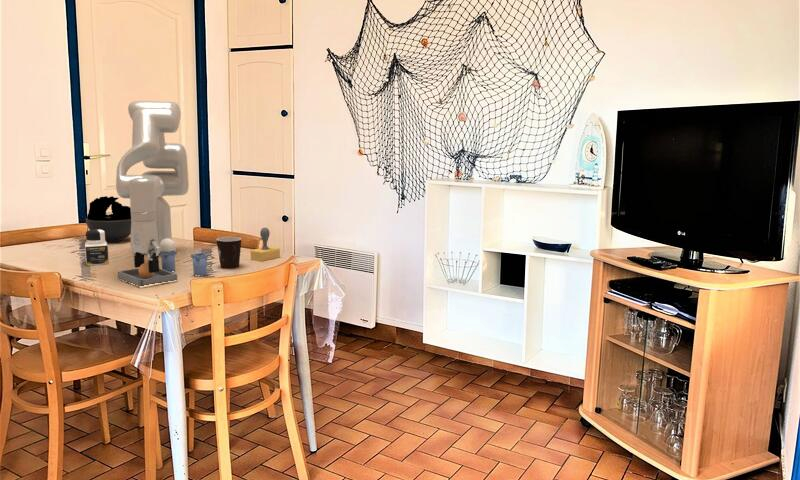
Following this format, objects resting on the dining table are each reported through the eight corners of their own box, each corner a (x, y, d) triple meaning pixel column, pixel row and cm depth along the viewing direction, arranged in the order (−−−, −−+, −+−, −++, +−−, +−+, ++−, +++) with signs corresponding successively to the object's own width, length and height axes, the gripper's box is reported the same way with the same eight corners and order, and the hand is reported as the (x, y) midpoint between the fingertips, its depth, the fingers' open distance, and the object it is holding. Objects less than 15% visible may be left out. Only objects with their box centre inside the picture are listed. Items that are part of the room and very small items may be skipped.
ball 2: (157, 252, 219) (156, 238, 218) (171, 250, 223) (170, 236, 222) (164, 255, 216) (163, 240, 215) (178, 253, 219) (177, 238, 219)
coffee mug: (219, 264, 233) (218, 236, 231) (244, 264, 234) (243, 236, 232) (213, 271, 221) (212, 242, 220) (238, 271, 222) (238, 243, 220)
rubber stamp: (260, 262, 238) (260, 230, 236) (250, 259, 241) (249, 228, 239) (280, 257, 246) (279, 226, 244) (269, 255, 249) (269, 225, 247)
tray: (118, 279, 209) (117, 271, 208) (153, 273, 218) (152, 265, 217) (140, 288, 198) (140, 280, 198) (177, 281, 207) (176, 274, 206)
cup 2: (190, 274, 216) (190, 254, 215) (202, 272, 219) (202, 252, 218) (197, 277, 213) (197, 256, 212) (209, 275, 216) (208, 254, 215)
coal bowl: (102, 236, 282) (99, 193, 278) (147, 237, 281) (144, 194, 278) (77, 245, 262) (74, 199, 259) (126, 246, 261) (123, 200, 258)
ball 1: (136, 277, 208) (135, 262, 207) (151, 275, 211) (150, 260, 210) (143, 280, 204) (142, 265, 203) (158, 278, 208) (157, 263, 207)
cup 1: (159, 271, 220) (158, 251, 219) (171, 269, 224) (170, 249, 222) (165, 273, 217) (164, 253, 216) (177, 271, 221) (176, 251, 219)
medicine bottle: (86, 265, 226) (84, 232, 224) (86, 261, 233) (83, 229, 230) (108, 264, 230) (106, 231, 227) (107, 260, 236) (105, 227, 234)
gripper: (120, 215, 207) (123, 266, 210) (145, 221, 196) (148, 276, 199) (142, 212, 213) (145, 263, 216) (168, 218, 201) (171, 272, 204)
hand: (146, 269), depth 207 cm, fingers open, 9 cm apart
